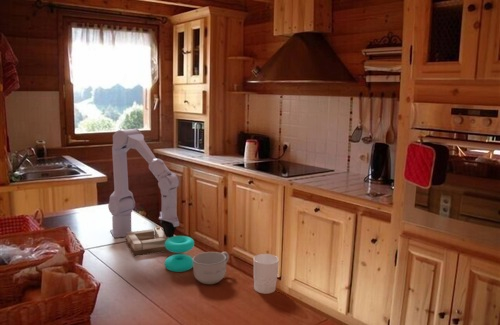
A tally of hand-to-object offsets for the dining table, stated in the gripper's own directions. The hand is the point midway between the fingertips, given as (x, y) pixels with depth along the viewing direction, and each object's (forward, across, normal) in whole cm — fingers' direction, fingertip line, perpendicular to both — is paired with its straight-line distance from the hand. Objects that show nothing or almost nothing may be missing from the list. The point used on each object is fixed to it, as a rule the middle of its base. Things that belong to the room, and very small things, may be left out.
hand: (169, 239), depth 165 cm
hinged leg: (0, -3, -2) cm, 4 cm away
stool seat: (+3, -2, -8) cm, 8 cm away
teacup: (+3, +34, +1) cm, 34 cm away
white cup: (+3, +48, +12) cm, 49 cm away
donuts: (+3, +20, -4) cm, 21 cm away
